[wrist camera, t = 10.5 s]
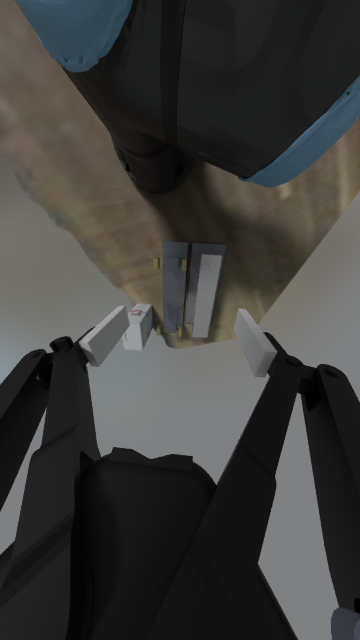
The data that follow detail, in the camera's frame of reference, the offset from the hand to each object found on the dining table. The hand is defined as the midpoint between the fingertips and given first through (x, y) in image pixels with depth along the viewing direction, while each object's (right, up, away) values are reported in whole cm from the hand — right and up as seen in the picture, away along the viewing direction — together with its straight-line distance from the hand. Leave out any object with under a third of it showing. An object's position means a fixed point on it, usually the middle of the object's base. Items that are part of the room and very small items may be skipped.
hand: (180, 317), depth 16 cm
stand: (-2, +8, +22) cm, 24 cm away
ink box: (-11, +1, +27) cm, 29 cm away
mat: (+6, +8, +21) cm, 24 cm away
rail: (+6, +7, +21) cm, 23 cm away
